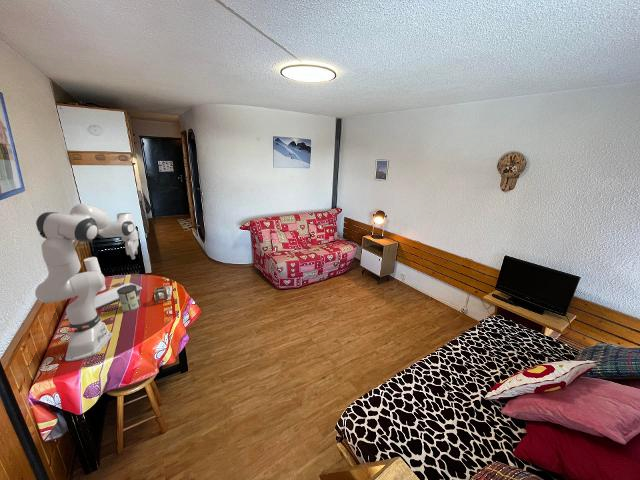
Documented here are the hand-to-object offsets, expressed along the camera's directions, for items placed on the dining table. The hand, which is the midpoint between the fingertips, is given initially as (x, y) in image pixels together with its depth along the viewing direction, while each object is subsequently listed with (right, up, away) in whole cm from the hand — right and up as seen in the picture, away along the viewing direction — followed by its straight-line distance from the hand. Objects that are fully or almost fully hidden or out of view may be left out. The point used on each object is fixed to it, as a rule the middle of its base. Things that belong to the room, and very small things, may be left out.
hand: (135, 256), depth 174 cm
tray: (-21, -31, +9) cm, 38 cm away
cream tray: (+12, -29, +13) cm, 33 cm away
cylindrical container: (-40, -26, +19) cm, 52 cm away
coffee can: (0, -34, -2) cm, 34 cm away
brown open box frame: (+16, -32, +4) cm, 36 cm away
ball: (+12, -28, +12) cm, 33 cm away
